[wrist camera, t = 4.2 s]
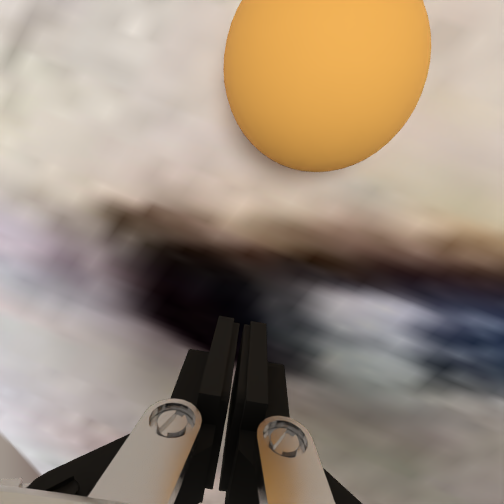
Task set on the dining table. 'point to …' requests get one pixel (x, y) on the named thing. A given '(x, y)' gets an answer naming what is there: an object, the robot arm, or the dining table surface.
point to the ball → (325, 76)
